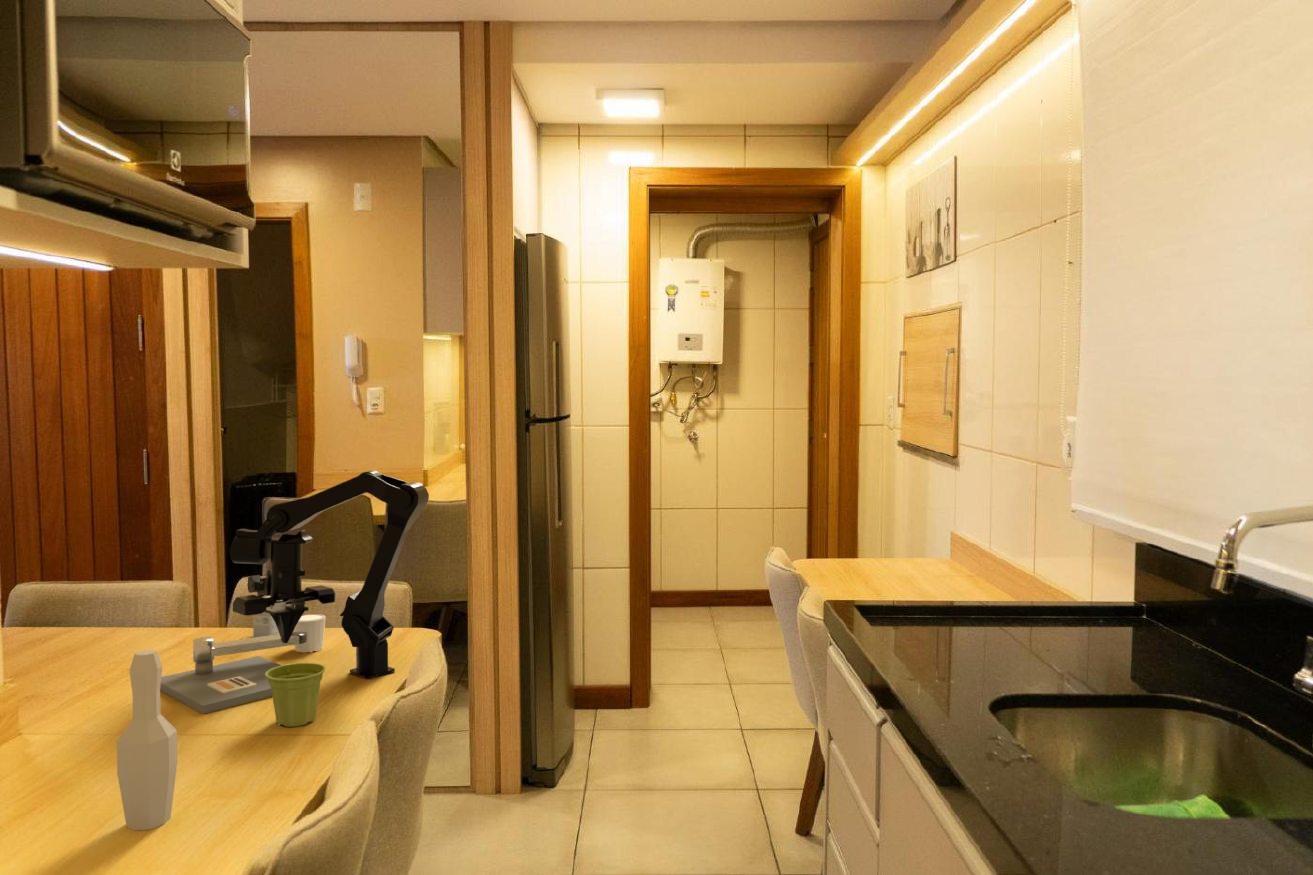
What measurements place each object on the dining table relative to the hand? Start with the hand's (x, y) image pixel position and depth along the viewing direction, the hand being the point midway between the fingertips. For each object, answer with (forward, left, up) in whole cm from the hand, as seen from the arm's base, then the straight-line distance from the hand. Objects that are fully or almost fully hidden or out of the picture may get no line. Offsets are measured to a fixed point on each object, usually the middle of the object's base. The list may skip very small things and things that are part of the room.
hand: (285, 642), depth 176 cm
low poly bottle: (-48, +42, -6) cm, 64 cm away
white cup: (+11, -11, -6) cm, 17 cm away
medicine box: (+28, -11, -6) cm, 31 cm away
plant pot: (-28, +12, -6) cm, 31 cm away
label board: (-2, +11, -6) cm, 13 cm away
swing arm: (+4, +5, -2) cm, 7 cm away
